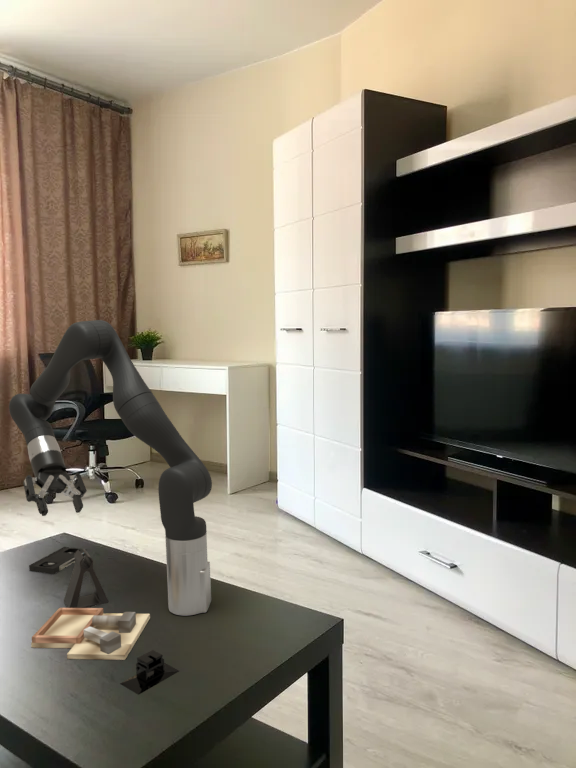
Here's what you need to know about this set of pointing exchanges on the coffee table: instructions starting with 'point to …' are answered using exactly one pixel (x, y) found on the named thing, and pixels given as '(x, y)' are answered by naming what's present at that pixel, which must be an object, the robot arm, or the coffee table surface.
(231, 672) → the coffee table surface
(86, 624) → the stand
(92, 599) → the phone stand
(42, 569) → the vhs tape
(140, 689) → the black slotted box
